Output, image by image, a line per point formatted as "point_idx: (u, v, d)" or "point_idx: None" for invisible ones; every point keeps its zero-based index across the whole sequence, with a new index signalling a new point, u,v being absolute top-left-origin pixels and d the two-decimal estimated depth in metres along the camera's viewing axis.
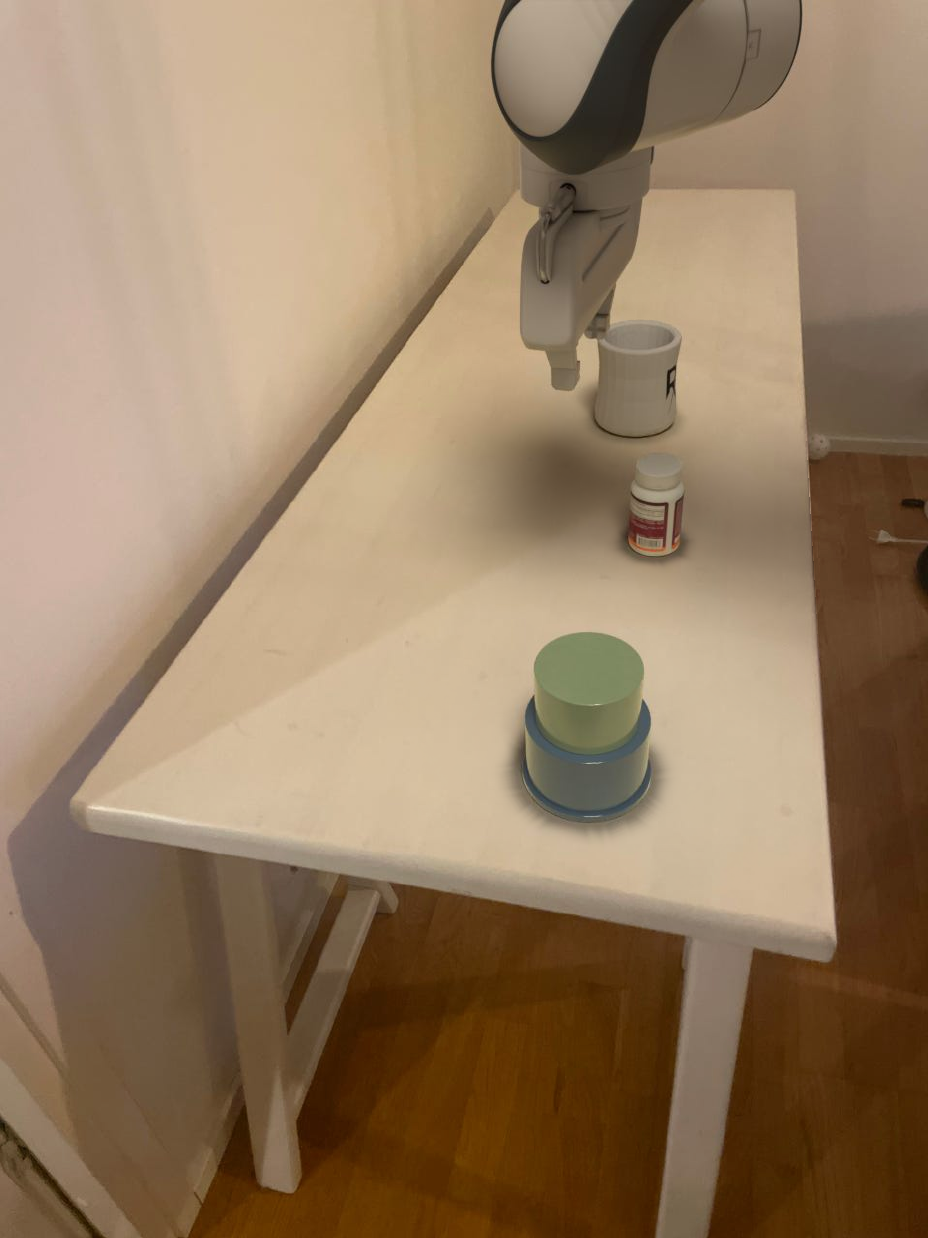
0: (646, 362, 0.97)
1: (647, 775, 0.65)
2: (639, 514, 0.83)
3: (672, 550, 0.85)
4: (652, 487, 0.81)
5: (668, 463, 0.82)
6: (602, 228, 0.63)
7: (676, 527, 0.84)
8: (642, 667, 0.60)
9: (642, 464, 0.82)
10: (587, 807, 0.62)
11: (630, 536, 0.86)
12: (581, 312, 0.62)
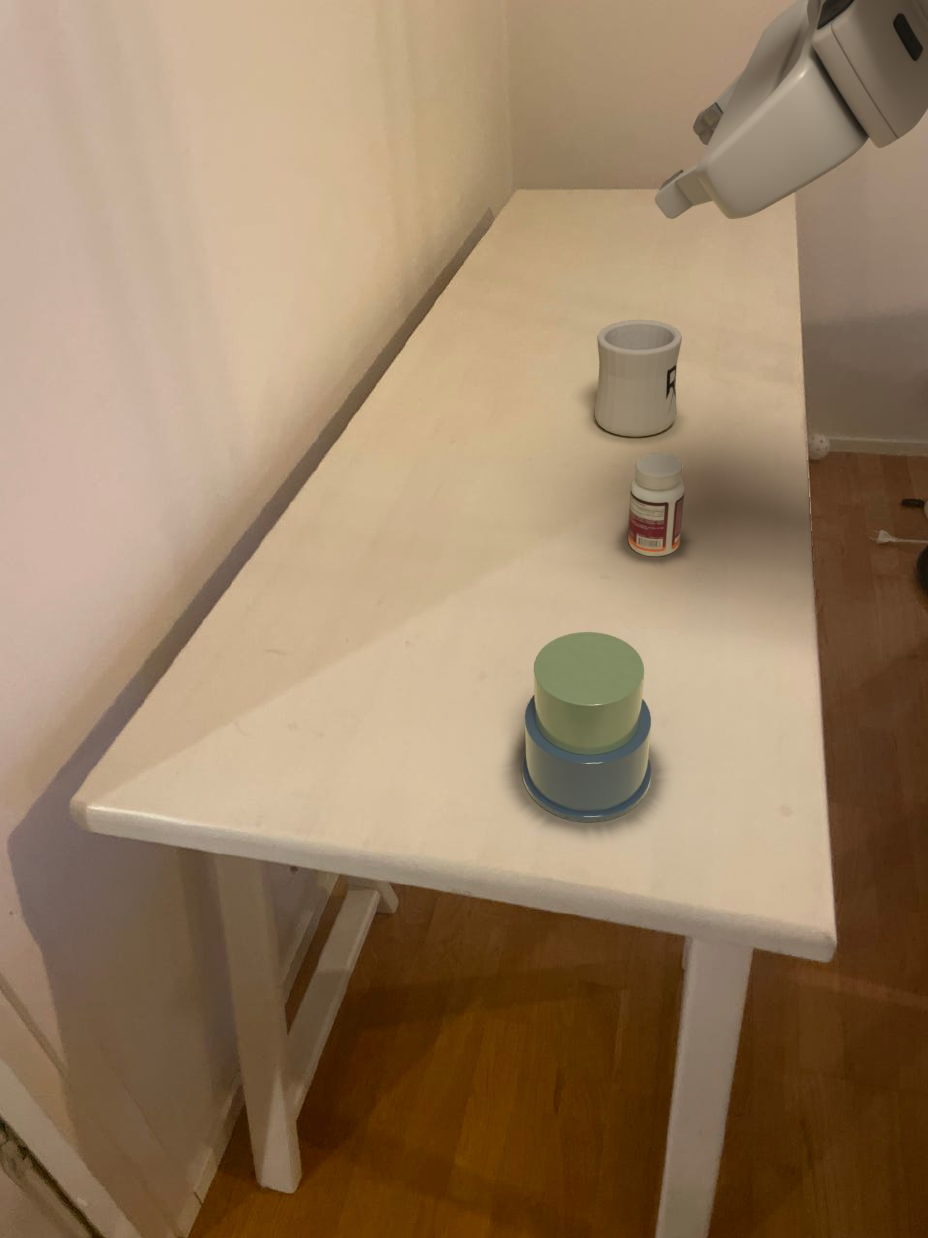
0: (646, 362, 0.97)
1: (647, 775, 0.65)
2: (639, 514, 0.83)
3: (672, 550, 0.85)
4: (652, 487, 0.81)
5: (668, 463, 0.82)
6: None
7: (676, 527, 0.84)
8: (642, 667, 0.60)
9: (642, 464, 0.82)
10: (587, 807, 0.62)
11: (630, 536, 0.86)
12: (783, 19, 0.57)
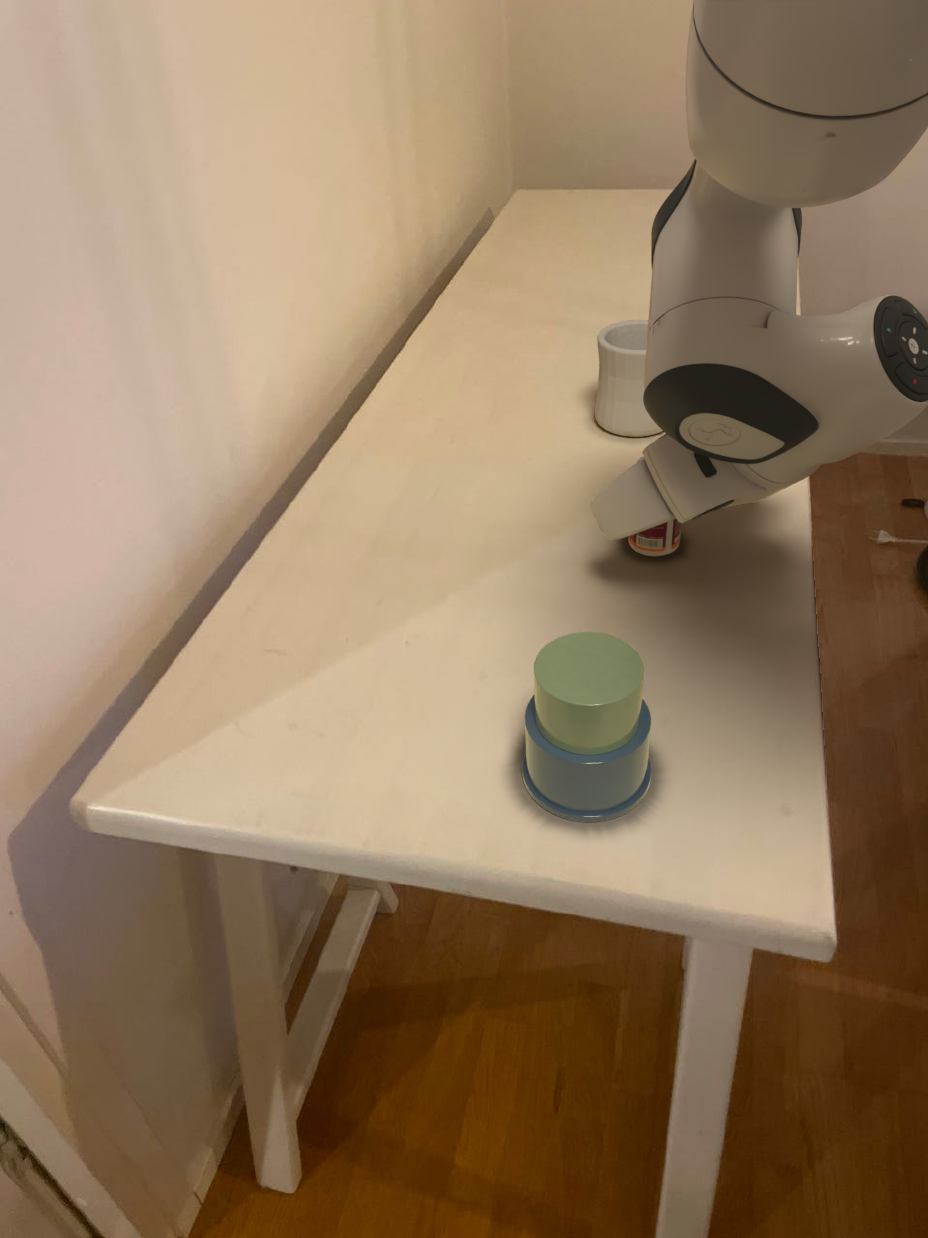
0: None
1: (647, 775, 0.65)
2: None
3: (672, 550, 0.86)
4: None
5: None
6: None
7: (676, 527, 0.84)
8: (642, 667, 0.60)
9: None
10: (587, 807, 0.62)
11: (630, 536, 0.86)
12: None
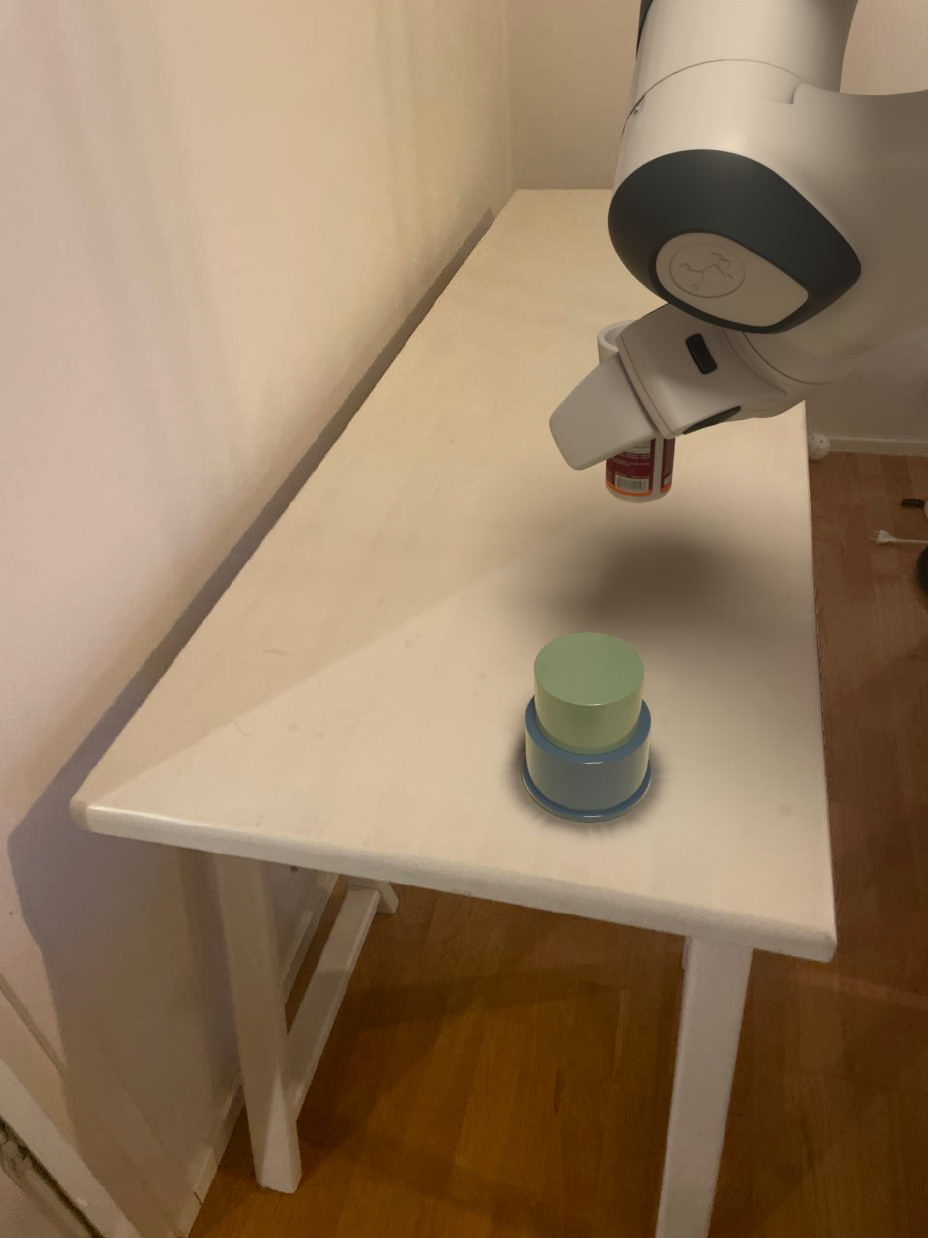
0: None
1: (647, 775, 0.65)
2: None
3: (661, 495, 0.66)
4: None
5: None
6: None
7: (667, 464, 0.65)
8: (642, 667, 0.60)
9: None
10: (587, 807, 0.62)
11: (607, 477, 0.67)
12: None
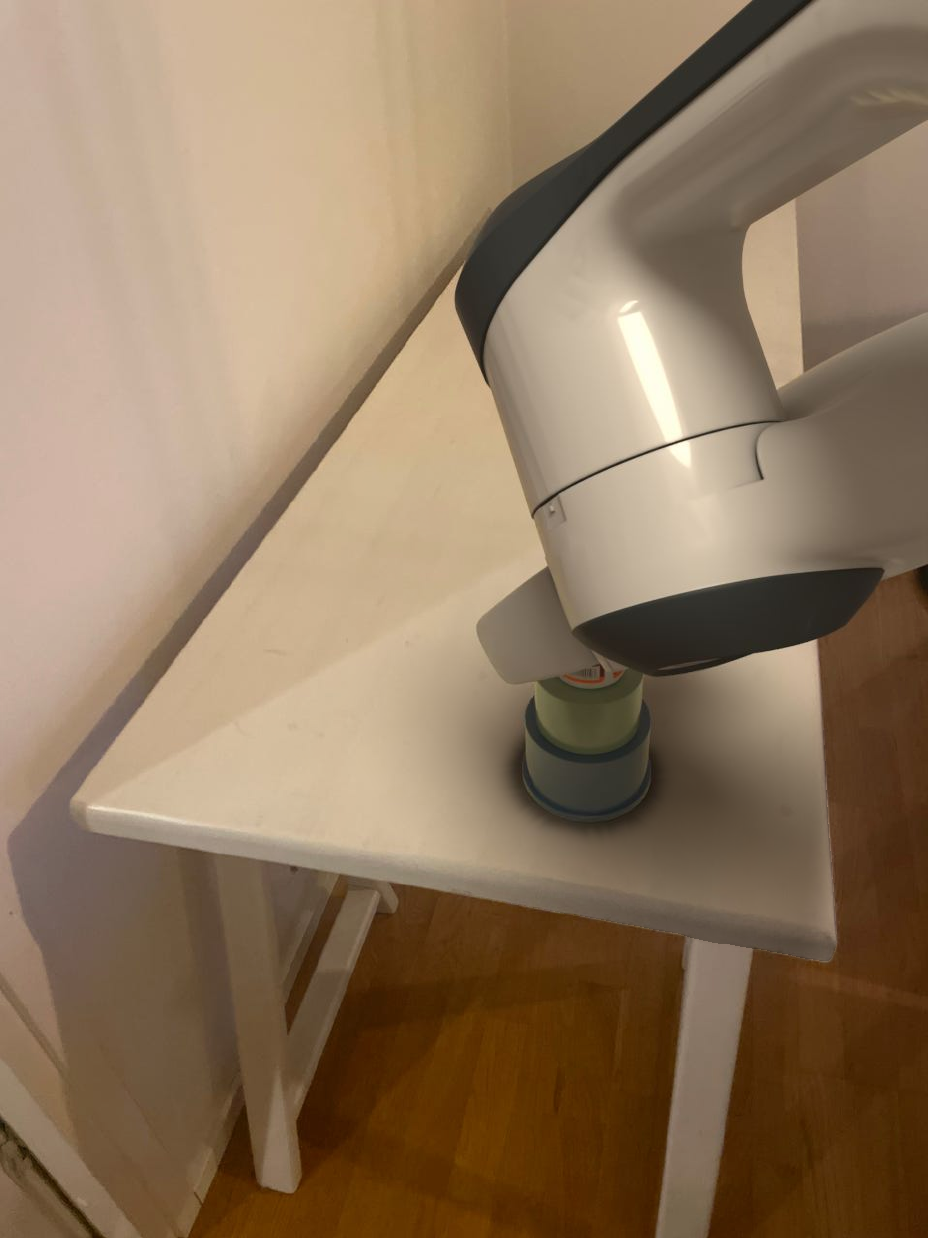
0: None
1: (647, 775, 0.65)
2: None
3: (615, 680, 0.58)
4: None
5: None
6: None
7: None
8: None
9: None
10: (587, 807, 0.62)
11: None
12: None
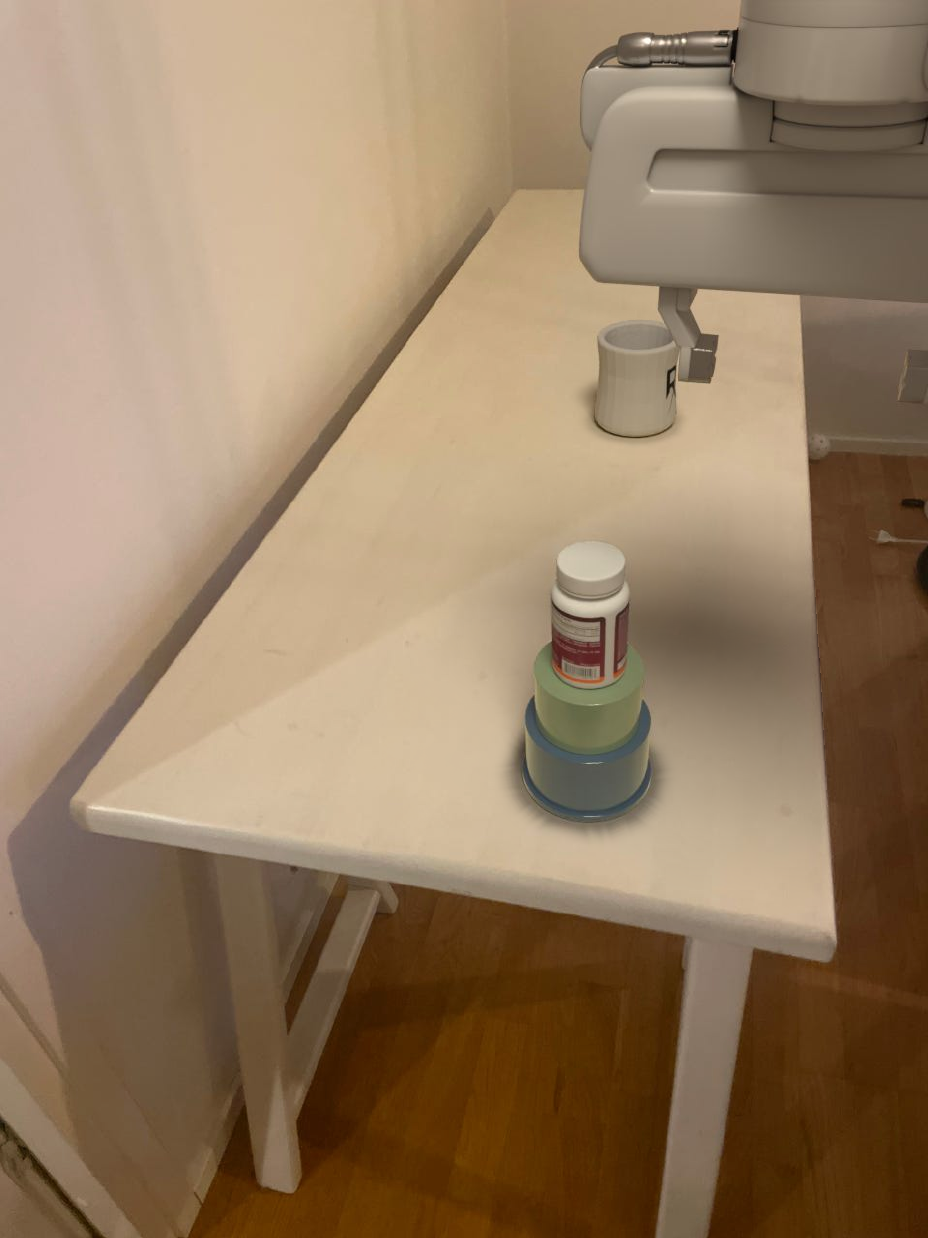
0: (646, 362, 0.97)
1: (647, 775, 0.65)
2: (563, 632, 0.56)
3: (615, 680, 0.58)
4: (580, 595, 0.54)
5: (604, 558, 0.55)
6: (774, 138, 0.35)
7: (620, 649, 0.57)
8: (642, 667, 0.60)
9: (565, 559, 0.55)
10: (587, 807, 0.62)
11: (554, 659, 0.59)
12: (638, 239, 0.39)
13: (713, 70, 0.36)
